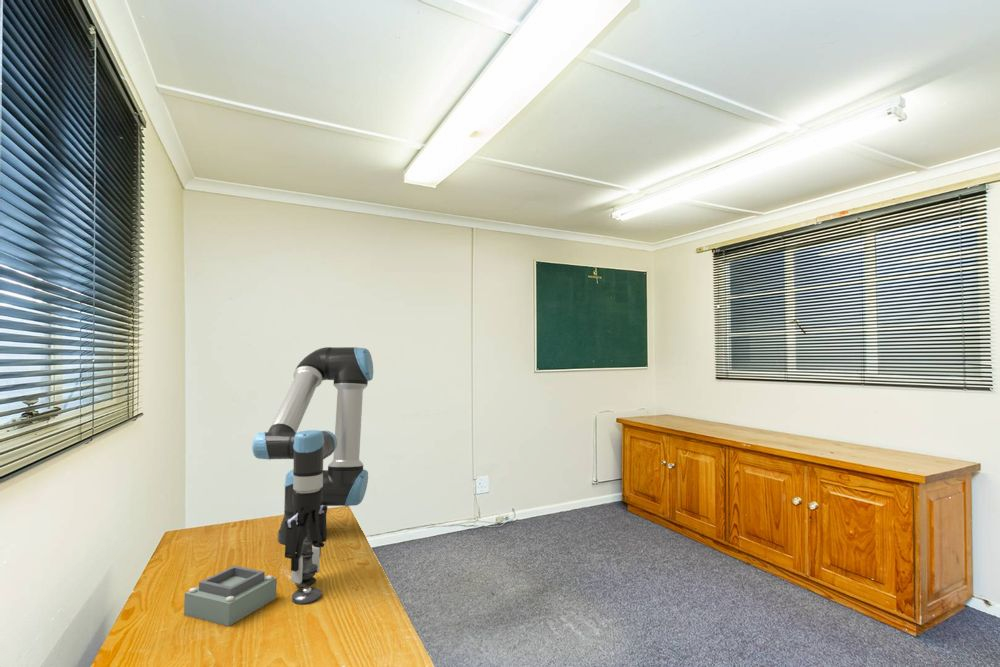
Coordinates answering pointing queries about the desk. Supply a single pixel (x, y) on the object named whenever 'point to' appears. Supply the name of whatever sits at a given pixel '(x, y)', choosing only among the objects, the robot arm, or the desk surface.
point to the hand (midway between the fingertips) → (305, 576)
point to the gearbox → (230, 595)
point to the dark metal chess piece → (307, 564)
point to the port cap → (306, 595)
